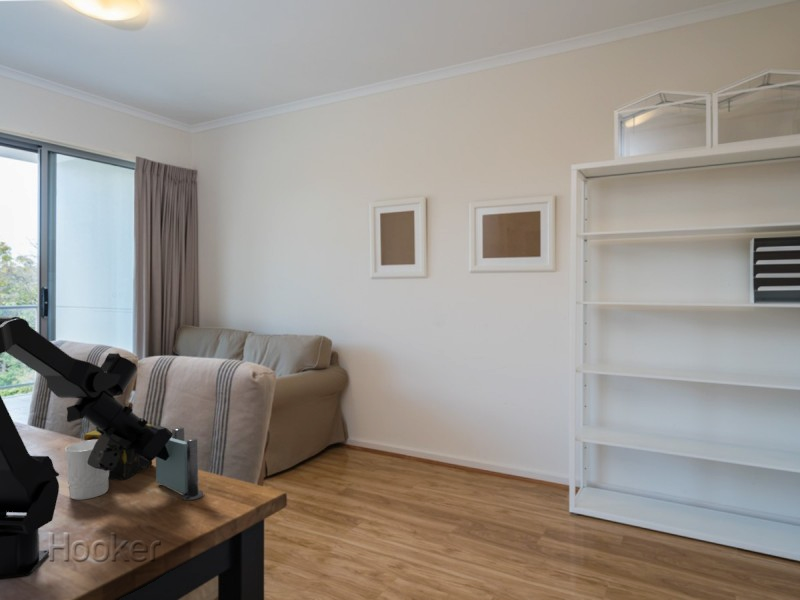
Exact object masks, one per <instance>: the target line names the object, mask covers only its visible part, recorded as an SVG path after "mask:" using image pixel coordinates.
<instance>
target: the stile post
mask: <svg viewBox="0 0 800 600" xmlns="http://www.w3.org/2000/svg"><path fill="white" fill-rule="evenodd" d="M171 432H172V433H173V434H172V437H171V438H174V439H178V440H181V441H185V427H183V426H182V427H181V426H180V427H174V428H172V430H171Z"/></svg>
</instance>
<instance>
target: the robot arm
mask: <svg viewBox="0 0 800 600" xmlns="http://www.w3.org/2000/svg"><path fill="white" fill-rule="evenodd" d="M3 353H6V354H8V355H10V356H11V357H13V358H14V359H16V360H17V361H20V363H22V364H24V365H25V366H27V367H28V368H30V369H31V370H33V371H34V372H36V373H38V374H40V375H41V376H42V377H43V378H44V379H45V383H46V387H47V388H48V389H49V390H50V391H51V392H52V393H53V394H54V395H55V396H56V397H58V398H59V399H77V400H76V401H75V403H74V404H73V405H70V406H67V407H66V411H67V412H66V413H67V415H66V422H68V423H72V422H75V421H78V420H83V419H85V420H86V421H87V422H89V423H90V424H92V425H93V426H94V427H95V430H96V431H97V432H99V433H100V434H101V435H100V437H99V439H98V440H97V442H96V443H95V445H94V448H93V450H92V452H91V454H90V456H89V458H88V462H87V463H88V465H90V466H92V467H94V468H97V469H102V470H105V471H112V470H113V469H114V468H115V466H116V464H117V462H118V460H119V458H120V455H121V454H120V453H121V450H122V449H124V450H126V451H128V450H133V449H134V455H137V456H139V457H141V458H143V459H145V460H147V461H152V462H153V461H154V459H156V457H158V458H160V459H163V460H165V461H166V460H167V459H168V458H169V454H168V451H167V448H166V446H165V445H166V443H167V442H168V441H169V440H170V438H172V434H173V433H172V430H170V429H168V428H167V427H164V426H161V425H160V424H155V425H152V426H151V427H150V426H148V425H146V424H149V422H148V421H147V420H146V419H144V418H142V417H139V416H138V415H136V414H135V413H134V412H133V409H132V408H131V407H130V406H127V405H124V404H123V403H121V401H119V400H118V399H117V398H115V397H117V396H121V395H124V392H125V391H126V389H127V387H128V386H129V384H130V383H131V381H132V379H133V378H134V376H135V375H136V372H137V371H138V367H137V364H136V363H134V362H132V360H130V359H128V358H126V357H123V356H121V355H120V353H119V352H118V353H115V352H113V353H112V352H110V353H108V354H107V356H106V357H105V360H104V361H103V363H102V364H101V366H99V365H97V364H94V363H92V362H89V361H87V360H86V361H85V360H81V359H77V358H75V357H73V356H70V355H69V354H67V353H66V352H65V351H64V350H63V349H61V348H59V347H58V346H57V345H55V344H54V343H53V342H51V341H50V340H49V339H47V338H46V337H45V336H43V335H42V334H41V333H39V332H38V331H36V330H35V329H34V328H33V327H31V326H30V324H29V322H28V321H27V320H26V319H24V318H21V317H19V316H0V354H3ZM59 475H60V473H59V472H57V470H56V468H55V467H54V463H53V460H52V458H50V456H49V455H31V454H30V453H29V451H28V450H27V447H26V445H25V443H24V441H23V439H22V437H21V435H20V432H19V431H18V429H17V427H16V425H15V422H14V420H13V419H12V416H11V414H10V412H9V410H8V408H7V406H6V403H5V402H4V400H3V398H2V396H1V395H0V579H6V578H7V579H9V578H17V577H25V576H29V575H31V574H32V573H33V572H34V571H35V570H36V568H37V567H38V566H39V565H40V564H41V563H42V562H43V561H44V560H45V559H46V558H47V557H48V556H49V554H50V550H49V549H45V550H40V542H39V541H40V540H39V535H40V534H39V529H40V528H42V527H44V526H46V525H47V524H48V523H50V522H52V521H53V519H54V514H55V509H56V505H57V501H58V497H59V491H60V484H59V480H58V477H59ZM8 513H19V514H20V515H19V514H8ZM22 514H24V515H22Z"/></svg>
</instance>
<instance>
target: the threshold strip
mask: <svg viewBox="0 0 800 600" xmlns="http://www.w3.org/2000/svg"><path fill="white" fill-rule="evenodd" d="M169 489H171V490H172V491H174V492H176V493H177V494H180V495H183V494H185V493H183V492H180V491H177V490H175V489H172V488H169Z"/></svg>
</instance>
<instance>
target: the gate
mask: <svg viewBox="0 0 800 600" xmlns="http://www.w3.org/2000/svg"><path fill="white" fill-rule="evenodd" d="M165 446H166V448H167V451H168V454H169V458H168V459H167V460H166V461H165V460H163V459H160V458H158V457H155V482H156V484H158V485H159V484H160V485H161V486H163V487H166V486H167V487H166V488H168V487H169V488H168V489H170V488H172V489H175V490H177V491H180V492H183V493H187V492H188V490H187V441H185V440H184V441H181V440H178V439H174V438H172V437H171V438H170V440H169V441H168V442H167V443H166V445H165ZM172 489H171V490H172Z"/></svg>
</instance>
